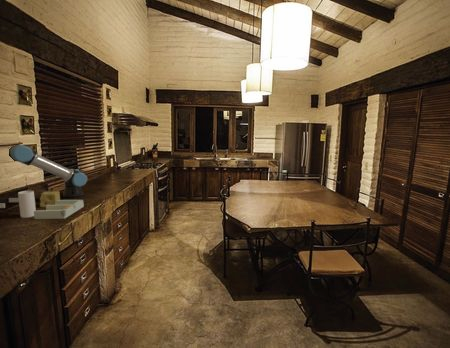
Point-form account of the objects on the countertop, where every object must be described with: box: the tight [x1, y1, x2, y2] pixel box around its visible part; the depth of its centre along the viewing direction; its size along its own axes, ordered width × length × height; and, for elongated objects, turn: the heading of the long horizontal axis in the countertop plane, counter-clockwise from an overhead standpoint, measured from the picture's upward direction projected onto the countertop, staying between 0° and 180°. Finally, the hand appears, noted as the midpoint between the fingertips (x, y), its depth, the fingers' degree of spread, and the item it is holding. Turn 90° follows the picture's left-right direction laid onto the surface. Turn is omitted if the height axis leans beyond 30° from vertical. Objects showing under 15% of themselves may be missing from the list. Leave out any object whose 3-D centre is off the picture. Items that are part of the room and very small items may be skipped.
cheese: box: [39, 190, 61, 208], centre depth 194 cm, size 10×11×10 cm
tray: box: [33, 199, 85, 220], centre depth 177 cm, size 18×28×6 cm, turn 6°
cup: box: [17, 190, 36, 219], centre depth 169 cm, size 8×8×16 cm
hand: (12, 202), depth 167 cm, fingers open, 13 cm apart
